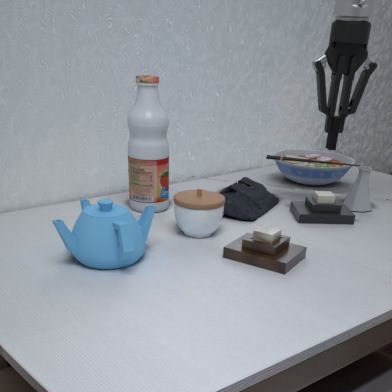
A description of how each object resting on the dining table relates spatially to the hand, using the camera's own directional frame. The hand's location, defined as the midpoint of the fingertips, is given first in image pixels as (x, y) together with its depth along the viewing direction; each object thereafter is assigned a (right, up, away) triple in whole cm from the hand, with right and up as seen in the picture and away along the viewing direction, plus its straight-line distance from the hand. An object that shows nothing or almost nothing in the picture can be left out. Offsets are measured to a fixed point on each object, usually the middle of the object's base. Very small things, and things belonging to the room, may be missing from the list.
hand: (330, 148), depth 110 cm
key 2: (+1, -9, +9) cm, 13 cm away
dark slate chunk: (-19, -9, +15) cm, 25 cm away
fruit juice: (-41, -10, +12) cm, 43 cm away
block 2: (0, -12, +10) cm, 16 cm away
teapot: (-46, -26, -14) cm, 55 cm away
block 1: (-16, -26, -12) cm, 33 cm away
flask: (+11, -8, +18) cm, 23 cm away
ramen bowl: (+3, +4, +35) cm, 36 cm away
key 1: (-16, -23, -14) cm, 31 cm away
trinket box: (-29, -19, -2) cm, 35 cm away
